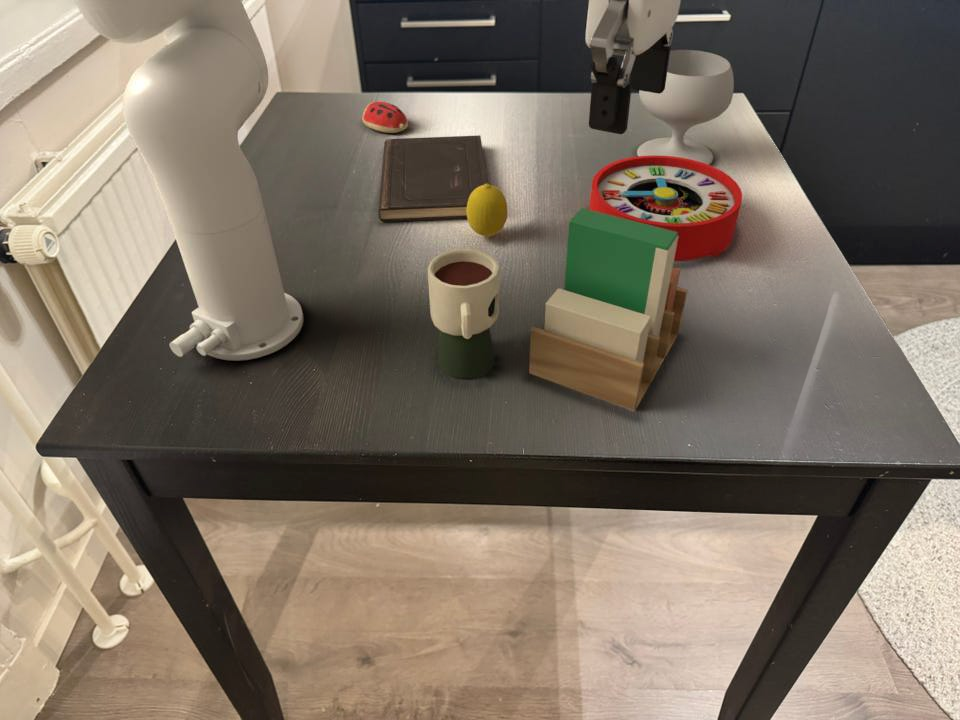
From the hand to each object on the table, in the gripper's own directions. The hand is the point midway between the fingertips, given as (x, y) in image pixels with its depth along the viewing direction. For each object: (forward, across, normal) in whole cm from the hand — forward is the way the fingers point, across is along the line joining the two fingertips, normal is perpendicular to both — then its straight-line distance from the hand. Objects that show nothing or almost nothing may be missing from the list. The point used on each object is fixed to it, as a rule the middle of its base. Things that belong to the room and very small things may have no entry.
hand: (628, 109), depth 64 cm
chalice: (+28, -51, -8) cm, 59 cm away
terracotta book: (+27, -4, +1) cm, 27 cm away
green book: (+27, +1, +1) cm, 27 cm away
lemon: (+28, -15, -23) cm, 39 cm away
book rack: (+28, +1, +1) cm, 28 cm away
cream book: (+27, +6, +1) cm, 28 cm away
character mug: (+28, +10, -12) cm, 32 cm away
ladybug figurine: (+28, -39, -57) cm, 74 cm away
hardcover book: (+28, -25, -38) cm, 53 cm away
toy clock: (+28, -29, -3) cm, 40 cm away
